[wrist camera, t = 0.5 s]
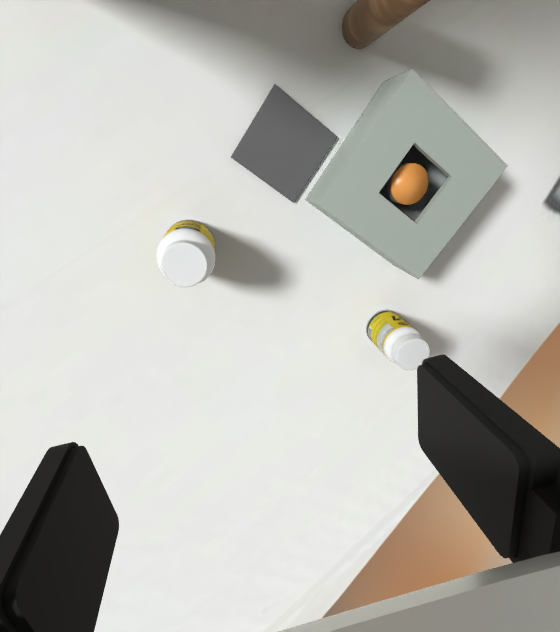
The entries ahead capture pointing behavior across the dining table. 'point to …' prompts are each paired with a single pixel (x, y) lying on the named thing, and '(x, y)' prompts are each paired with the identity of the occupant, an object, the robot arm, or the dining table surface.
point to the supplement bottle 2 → (397, 339)
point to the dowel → (375, 19)
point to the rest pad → (283, 144)
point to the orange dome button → (406, 184)
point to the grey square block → (383, 158)
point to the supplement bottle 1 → (186, 253)
